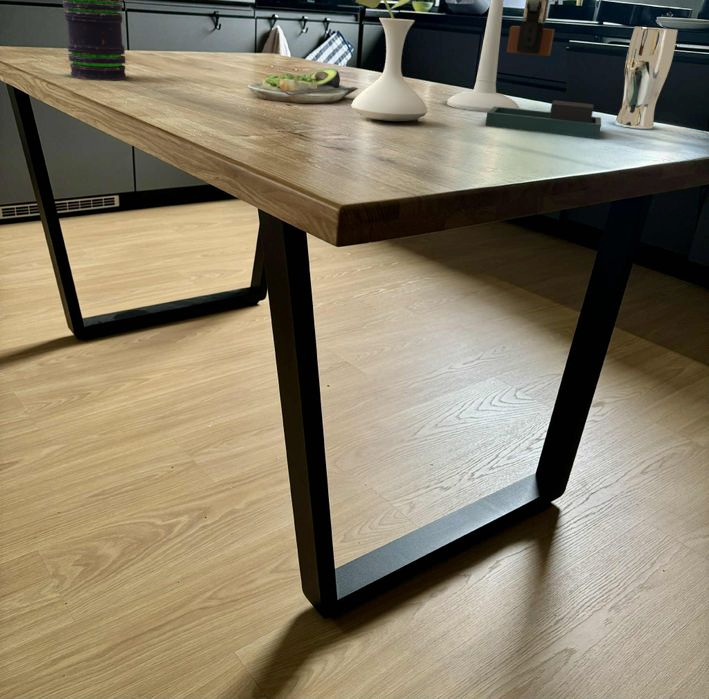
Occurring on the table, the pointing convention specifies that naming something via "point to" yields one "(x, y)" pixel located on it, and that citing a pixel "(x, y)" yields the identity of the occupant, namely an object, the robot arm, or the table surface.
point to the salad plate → (302, 88)
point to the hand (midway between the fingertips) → (529, 50)
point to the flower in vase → (390, 77)
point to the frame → (541, 122)
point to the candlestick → (486, 70)
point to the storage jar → (95, 39)
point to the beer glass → (645, 75)
